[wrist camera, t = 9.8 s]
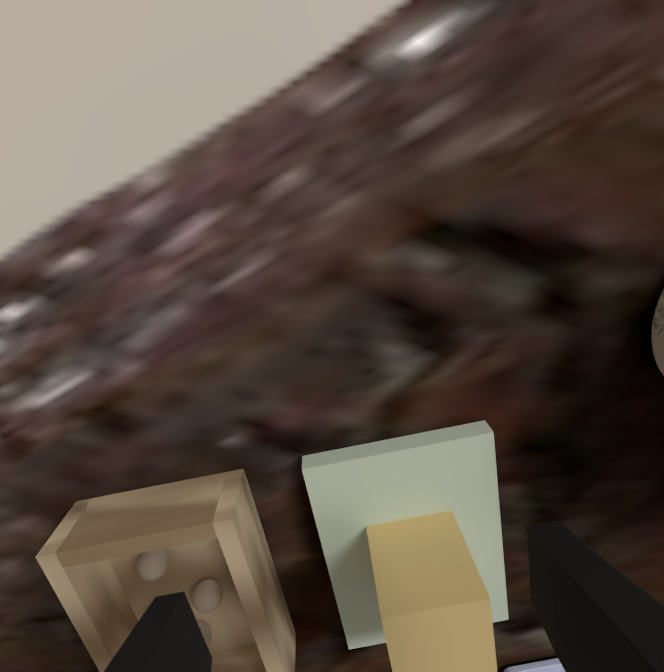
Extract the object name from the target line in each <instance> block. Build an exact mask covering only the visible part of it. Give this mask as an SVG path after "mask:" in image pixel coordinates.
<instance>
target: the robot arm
mask: <svg viewBox="0 0 664 672" xmlns="http://www.w3.org/2000/svg"><path fill="white" fill-rule="evenodd" d="M527 533H528V551H529V570H530V588H531V599H532V602H533V604H534V606H535V609H536V611H537V613H538V615H539V618H540V620H541V622H542V625H543V627H544V629H545V631H546V634H547V636H548V638H549V640H550V642H551V644H552V647H553V649H554V651H555V653H556V655H557V657H558V658H554V659H549V660H544V661H538V662H533V663H527V664H522V665H517V666H511V667H508V668H506V669H505V670H504V671H503V672H664V605H663V604H661V603H660V602H659V601H657V600H656V599H655V598H653V597H652V596H651V595H650V594H648V593H647V592H646V591H644V590H643V589H642V588H640V587H639V586H638V585H637V584H635V583H634V582H633V581H632V580H630V579H629V578H628V577H626V576H625V575H624V574H623V573H621V572H620V571H619V570H618V569H616V568H615V567H614V566H613V565H611V564H610V563H609V562H608V561H607V560H605V559H604V558H603V557H602V556H600V555H599V554H598V553H597V552H595V551H594V550H593V549H592V548H591V547H589V546H588V545H587V544H586V543H585V542H583V541H582V540H581V539H580V538H579V537H577V536H576V535H575V534H574V533H572V532H571V531H570V530H569V529H568V528H566V527H565V526H564V525H563V524H561V523H560V522H559V521H557V520H556V521H550V522H545V523H540V524H535V525H529V526H527ZM211 667H212V656H211V654H210V651H209V649H208V647H207V644H206V642H205V640H204V637H203V635H202V632H201V630H200V628H199V625H198V623H197V621H196V618H195V616H194V613H193V611H192V609H191V606H190V604H189V602H188V599H187V597H186V594H185V592H184V591H183V592H178V593H173V594H167V595H162V596H157V597H155V599H154V600H153V601H152V603H151V604H150V606H149V607H148V608H147V610H146V611H145V613H144V614H143V615H142V617H141V618H140V620H139V621H138V623H137V624H136V626H135V627H134V628H133V630H132V631H131V633H130V634H129V636H128V637H127V639H126V640H125V641H124V643H123V644H122V646H121V647H120V649H119V650H118V652H117V653H116V655H115V656H114V657H113V659H112V660H111V662H110V663H109V665H108V666H107V667H106V669H105V670H104V672H211Z"/></svg>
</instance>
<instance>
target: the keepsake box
mask: <svg viewBox="0 0 664 672" xmlns="http://www.w3.org/2000/svg"><path fill="white" fill-rule="evenodd" d="M36 559H37V561H38V563H39V564H40V566H41V568H42V570H43V572H44V573H45V575H46V577H47V579H48V580H49V582H50V584H51V586H52V588H53V589H54V591H55V593H56V595H57V597H58V598H59V600H60V602H61V604H62V606H63V607H64V609H65V611H66V613H67V614H68V616H69V618H70V620H71V622H72V623H73V625H74V627H75V629H76V631H77V632H78V634H79V636H80V638H81V640H82V641H83V643H84V645H85V647H86V648H87V650H88V652H89V654H90V656H91V657H92V659H93V661H94V663H95V665H96V666H97V668H98V670H99V672H104V670H105V669H106V667H107V666H108V665H109V663H110V662H111V660H112V659H113V657H114V656H115V655H116V653H117V652H118V650H119V649H120V647H121V646H122V644H123V643H124V641H125V640H126V639H127V637H128V636H129V634H130V633H131V631H132V630H133V628H134V627H135V626H136V624H137V623H138V621H139V620H140V618H141V617H142V615H143V614H144V613H145V611H146V610H147V608H148V607H149V606H150V604H151V603H152V601H153V600H154V599H155V597H157V596H162V595H167V594H173V593H178V592H183V591H184V592H185V594H186V597H187V599H188V602H189V604H190V606H191V609H192V611H193V613H194V616H195V618H196V621H197V623H198V625H199V628H200V630H201V632H202V635H203V637H204V640H205V642H206V644H207V647H208V649H209V651H210V654H211V656H212V667H211V672H295V645H296V632H295V629H294V626H293V623H292V620H291V617H290V613H289V610H288V607H287V604H286V601H285V598H284V594H283V591H282V588H281V585H280V582H279V579H278V576H277V572H276V569H275V566H274V563H273V560H272V557H271V553H270V550H269V547H268V544H267V541H266V538H265V535H264V531H263V528H262V525H261V522H260V519H259V516H258V512H257V509H256V506H255V503H254V500H253V497H252V494H251V490H250V487H249V484H248V481H247V478H246V475H245V471H244V469H239V470H234V471H229V472H224V473H219V474H213V475H208V476H203V477H198V478H193V479H188V480H183V481H178V482H173V483H167V484H162V485H157V486H152V487H147V488H142V489H137V490H132V491H127V492H122V493H116V494H111V495H106V496H101V497H96V498H91V499H86V500H81V501H76V502H75V504H74V505H73V506H72V508H71V509H70V510H69V512H68V513H67V515H66V516H65V517H64V519H63V520H62V521H61V523H60V524H59V525H58V527H57V528H56V530H55V531H54V532H53V534H52V535H51V536H50V538H49V539H48V540H47V542H46V543H45V545H44V546H43V547H42V549H41V550H40V551H39V553H38V554H37V555H36Z"/></svg>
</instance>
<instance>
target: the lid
mask: <svg viewBox="0 0 664 672" xmlns="http://www.w3.org/2000/svg"><path fill="white" fill-rule="evenodd" d="M302 472H303V476H304V480H305V484H306V488H307V491H308V495H309V499H310V503H311V507H312V511H313V514H314V518H315V522H316V526H317V530H318V533H319V537H320V541H321V545H322V549H323V552H324V556H325V560H326V564H327V568H328V571H329V575H330V579H331V583H332V587H333V590H334V594H335V598H336V602H337V606H338V610H339V613H340V617H341V621H342V625H343V629H344V632H345V636H346V640H347V644H348V648H349V649H354V648H359V647H365V646H370V645H375V644H381V643H387V648H388V652H389V657H390V661H391V666H392V671H393V672H497V663H496V653H495V643H494V633H493V622H498V621H503V620H508V607H507V594H506V582H505V569H504V557H503V544H502V532H501V519H500V506H499V494H498V481H497V469H496V456H495V444H494V432H493V431H492V429H491V428H490V427H489V425H488V424H487V423H486V421H485V420H484V421H478V422H473V423H468V424H463V425H458V426H453V427H448V428H443V429H438V430H433V431H428V432H422V433H417V434H412V435H407V436H402V437H397V438H392V439H387V440H382V441H377V442H372V443H367V444H361V445H356V446H351V447H346V448H341V449H336V450H331V451H326V452H321V453H316V454H311V455H305V456H302Z"/></svg>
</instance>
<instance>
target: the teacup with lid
mask: <svg viewBox="0 0 664 672" xmlns="http://www.w3.org/2000/svg"><path fill="white" fill-rule="evenodd" d="M651 339H652V349H653V354H654V357H655V361H656V363H657V365H658V368H659V370H660V371H661V373H662V375H663V376H664V289H663V291H662V293H661V296H660V298H659V300H658V303H657V306H656V309H655V313H654V317H653V323H652V336H651Z"/></svg>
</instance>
